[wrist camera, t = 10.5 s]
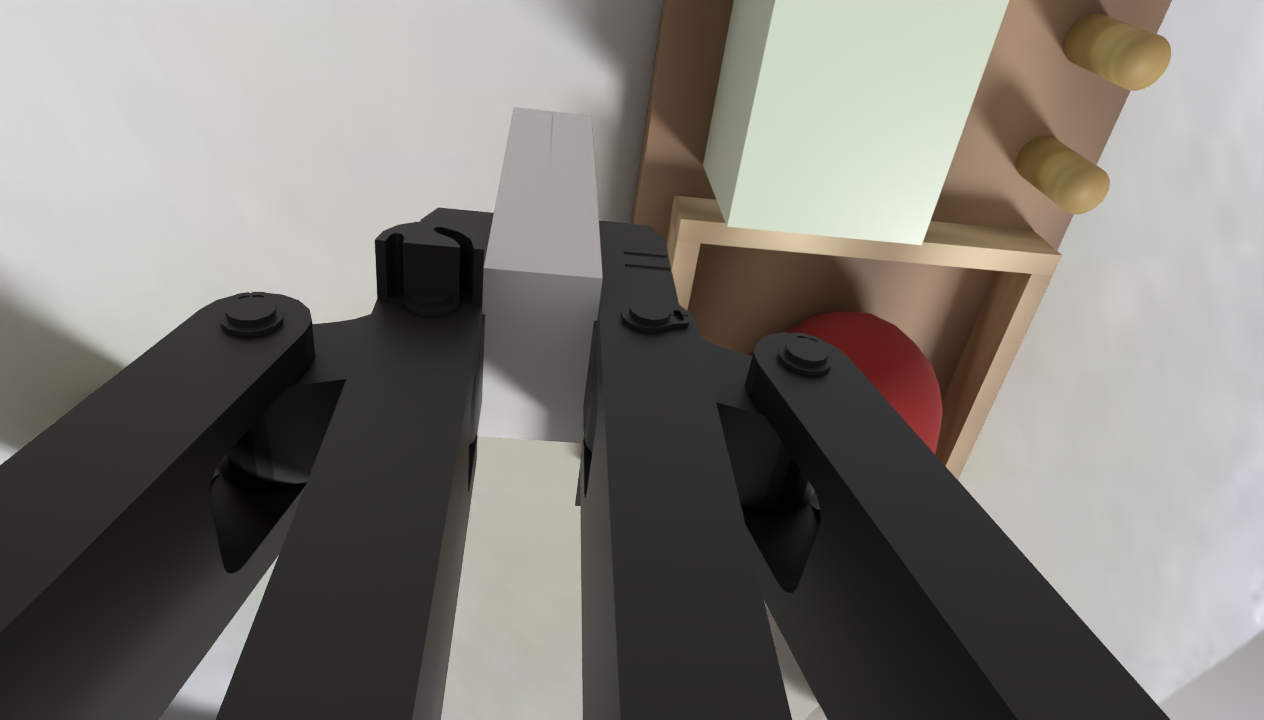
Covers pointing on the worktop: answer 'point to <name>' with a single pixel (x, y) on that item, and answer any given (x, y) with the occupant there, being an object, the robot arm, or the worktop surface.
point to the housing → (844, 112)
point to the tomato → (885, 365)
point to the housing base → (961, 222)
